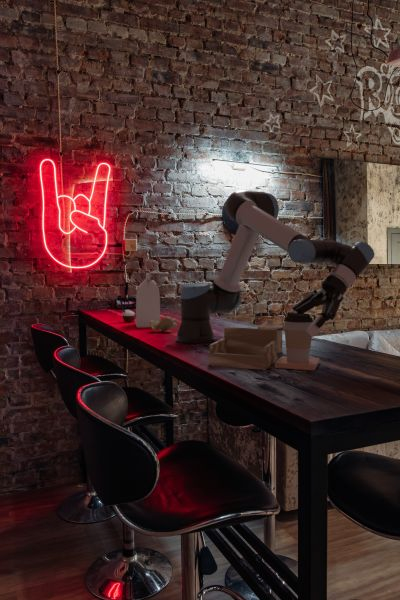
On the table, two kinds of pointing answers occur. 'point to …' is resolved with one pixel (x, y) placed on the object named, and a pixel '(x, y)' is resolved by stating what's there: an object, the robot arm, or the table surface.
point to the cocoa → (128, 315)
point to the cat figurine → (163, 324)
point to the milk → (147, 303)
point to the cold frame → (245, 348)
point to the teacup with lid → (273, 325)
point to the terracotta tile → (297, 364)
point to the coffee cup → (297, 337)
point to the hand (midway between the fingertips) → (296, 331)
